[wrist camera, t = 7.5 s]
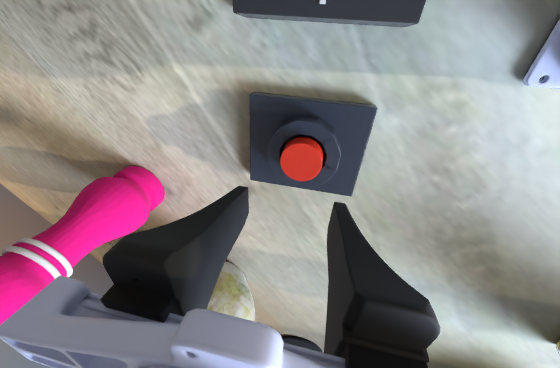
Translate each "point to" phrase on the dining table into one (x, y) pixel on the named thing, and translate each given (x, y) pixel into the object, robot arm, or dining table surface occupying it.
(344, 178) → the button block
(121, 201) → the pepper mill
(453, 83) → the dining table surface
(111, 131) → the dining table surface
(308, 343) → the wine glass
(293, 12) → the panel
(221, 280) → the sugar bowl
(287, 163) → the power button
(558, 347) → the juice carton
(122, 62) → the dining table surface
